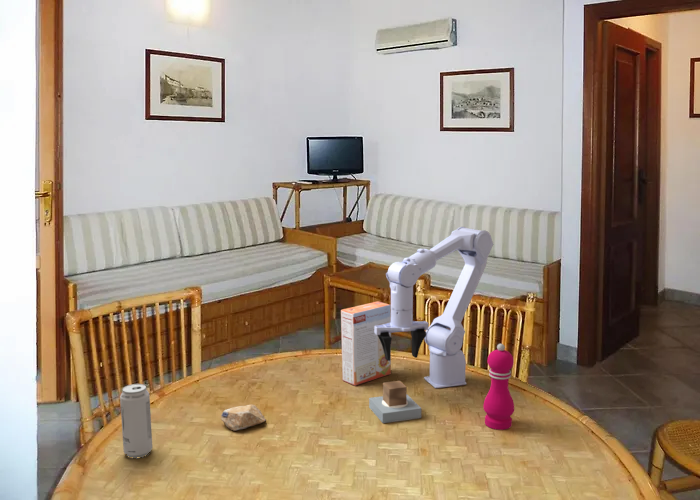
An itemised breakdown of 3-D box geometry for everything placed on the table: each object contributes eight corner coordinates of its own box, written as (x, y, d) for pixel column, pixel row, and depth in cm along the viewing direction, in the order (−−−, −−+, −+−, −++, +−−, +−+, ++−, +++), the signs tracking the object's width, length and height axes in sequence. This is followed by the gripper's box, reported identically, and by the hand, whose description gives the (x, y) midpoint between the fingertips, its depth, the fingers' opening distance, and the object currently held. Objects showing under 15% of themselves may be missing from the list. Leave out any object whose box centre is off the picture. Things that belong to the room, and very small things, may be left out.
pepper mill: (514, 432, 157) (517, 349, 153) (482, 429, 158) (485, 347, 155) (513, 419, 164) (516, 340, 160) (482, 416, 165) (485, 338, 162)
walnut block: (399, 397, 170) (399, 380, 170) (406, 404, 166) (406, 387, 165) (382, 399, 169) (383, 382, 168) (389, 406, 165) (389, 389, 164)
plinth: (405, 402, 174) (405, 392, 174) (421, 417, 165) (421, 407, 164) (369, 407, 171) (369, 397, 171) (382, 423, 162) (382, 412, 161)
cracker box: (377, 369, 198) (377, 300, 195) (391, 374, 194) (392, 304, 190) (340, 380, 190) (340, 308, 186) (354, 386, 185) (354, 312, 181)
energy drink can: (123, 449, 149) (119, 385, 146) (151, 445, 151) (147, 381, 148) (124, 461, 143) (120, 395, 141) (153, 457, 145) (150, 391, 143)
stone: (218, 423, 163) (217, 405, 162) (257, 413, 168) (257, 396, 168) (232, 436, 156) (231, 417, 155) (272, 425, 161) (272, 407, 161)
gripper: (380, 314, 170) (380, 365, 172) (433, 309, 174) (432, 359, 177) (371, 307, 177) (371, 357, 179) (422, 303, 181) (422, 351, 183)
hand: (401, 358), depth 178 cm, fingers open, 7 cm apart
